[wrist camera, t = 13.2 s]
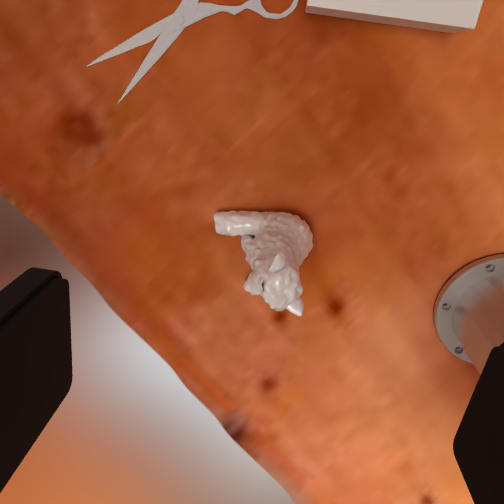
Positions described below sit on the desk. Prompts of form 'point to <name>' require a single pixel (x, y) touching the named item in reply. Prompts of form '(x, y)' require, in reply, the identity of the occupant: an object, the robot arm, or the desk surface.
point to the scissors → (179, 30)
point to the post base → (404, 12)
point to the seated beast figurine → (271, 253)
